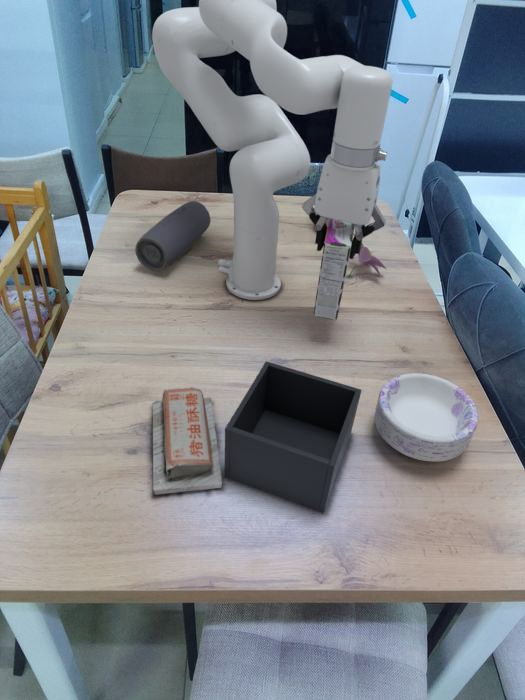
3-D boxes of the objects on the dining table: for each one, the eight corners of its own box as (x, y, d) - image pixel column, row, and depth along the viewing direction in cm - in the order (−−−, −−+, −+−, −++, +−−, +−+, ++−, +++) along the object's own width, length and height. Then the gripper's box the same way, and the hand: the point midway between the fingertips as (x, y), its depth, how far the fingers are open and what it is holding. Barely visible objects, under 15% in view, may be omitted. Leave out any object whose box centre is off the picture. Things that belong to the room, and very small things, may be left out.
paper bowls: (364, 401, 89) (373, 368, 84) (450, 406, 90) (463, 373, 84) (377, 472, 78) (388, 438, 73) (475, 478, 78) (493, 444, 73)
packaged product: (150, 386, 83) (210, 381, 84) (152, 407, 86) (211, 402, 87) (150, 476, 69) (222, 469, 71) (153, 497, 72) (222, 489, 74)
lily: (381, 294, 118) (402, 257, 115) (337, 274, 116) (358, 235, 113) (367, 282, 129) (386, 248, 127) (327, 263, 127) (345, 228, 124)
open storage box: (224, 476, 76) (224, 428, 69) (262, 407, 87) (266, 360, 80) (324, 512, 72) (334, 466, 65) (350, 435, 83) (361, 389, 76)
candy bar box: (318, 286, 106) (330, 213, 95) (341, 290, 105) (356, 217, 95) (311, 317, 98) (323, 241, 87) (336, 321, 97) (352, 245, 86)
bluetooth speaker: (181, 231, 136) (179, 195, 129) (212, 238, 133) (212, 202, 127) (135, 270, 119) (130, 231, 113) (170, 280, 117) (167, 240, 110)
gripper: (410, 156, 83) (385, 253, 95) (310, 137, 87) (299, 232, 99) (402, 171, 77) (377, 272, 89) (297, 150, 82) (286, 249, 93)
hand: (336, 250), depth 94 cm, fingers closed on candy bar box, 5 cm apart
